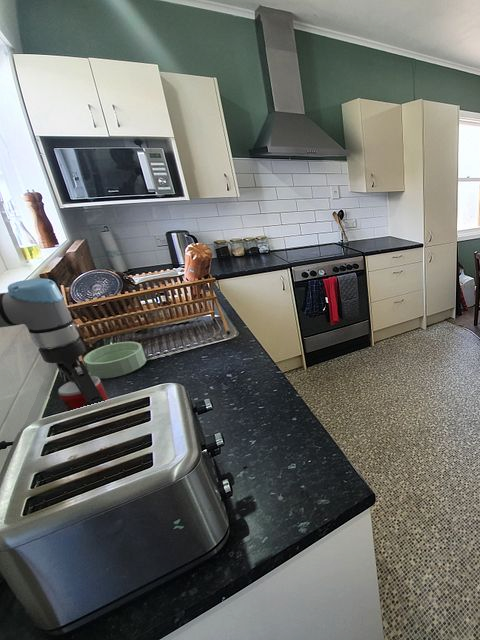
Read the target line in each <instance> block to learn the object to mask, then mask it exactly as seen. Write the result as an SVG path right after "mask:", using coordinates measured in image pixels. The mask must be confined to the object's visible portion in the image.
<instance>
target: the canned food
mask: <svg viewBox="0 0 480 640" xmlns="http://www.w3.org/2000/svg"><path fill="white" fill-rule="evenodd" d="M90 377H91V379H92V381H93V382H94V384H95V386H96V388H97V389H98V391H99V393H100V395H101V396H102V397H103V401H105V400H107V399H109V397H108V395H107V392H106V389H105V387H104V386H103V385H104V384H103V383H102V380H101V379H99V378H98V377H96V376H90ZM57 392H58V395H59V397H60V399H61V401H62V403H63V405H64V408H65V409H66V411H67V412H68V411H70V410H73V409H76V408H80V407H83V406H84V404H85V403H86V400H85V399H84V397H83V395H82V394H81V392H80V391H79V389H78V388H77V386H76V385H75V383H74V382H68V383H64V384H63V385H61V386H60V387H59V388H58V391H57Z"/></svg>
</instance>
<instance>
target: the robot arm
mask: <svg viewBox="0 0 480 640" xmlns="http://www.w3.org/2000/svg"><path fill="white" fill-rule="evenodd" d="M20 325H24V326H26V328H27V331H28V334H29V335H30V337H31V339H32V342H33V343H34V345H35V346H36V347H37V348H38V352H39V354H40V355H41V358H42V359H43V361H44V362H45V363H47V364H56V367H57V370H58V373H59V375H60V379H61V380H62V381H63V382H64V384H66V383H68V382H74V383H75V385H76V386H77V388H78V389H79V391H80V392H81V394H82V395H83V397H84V399H85V400H86V403H85V404H84V406H87V405H91V404H94V403H98V402H101V401H103V397H102V396H101V395H100V393H99V391H98V389H97V388H96V386H95V384H94V382H93V381H92V379H91V377H90V375H89V372H88V370H87V368H86V366H85V363H84V361H82V360H80V358H79V357H81V356H83V355H84V354H85V353H86V352H87V349H86V346H85V344H84V341H83V340H82V338H81V337H80V334H79V331H78V330H77V329H78V328H79V324H77V323H74V320H73V318H72V315H71V313H70V310H69V309H68V306H67V304H66V300H65V297H64V295H63V294H62V293H61V290H60V289H59V287H58V286H57V283H56V282H55V281H53V280H52V279H50V278H43V277H41V278H31V279H25V280H24V279H23V280H19V281H15V282H13V283H10V284H9V285H8V286H7V291H6V292H0V329H1V328H8V327H16V326H20Z"/></svg>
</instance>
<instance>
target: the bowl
mask: <svg viewBox="0 0 480 640" xmlns="http://www.w3.org/2000/svg"><path fill="white" fill-rule="evenodd" d="M82 362H83V364H84V366H86V370H87V372H88V374H89V375H90V376H96V377H98V378H99V379H100V380H101V379H102V380H103V379H113V378H118V377H121V376H125V375H127V374H130V373H132V372H135V371H136V370H138V369H140V368H141V367H143V366H144V365H145V364H146V363H147V357H146V354H145V351H144V349H143V345H142V344H141V343H139V342H137V341H121V342H120V341H119V342H115V343H109V344H107V345H103V346H100V347H98V348H95V349H93V350H91V351H90V352H88V353H86V355H85V356H83V361H82Z"/></svg>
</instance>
